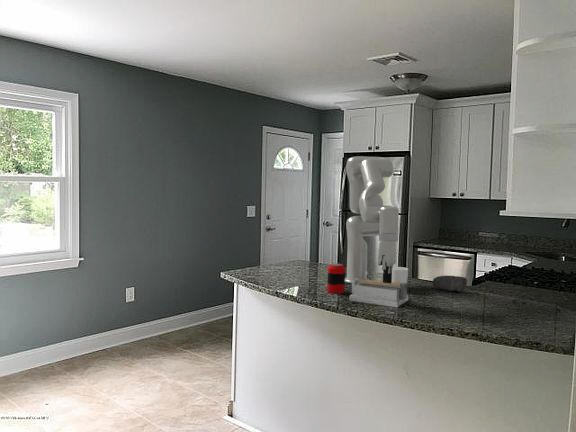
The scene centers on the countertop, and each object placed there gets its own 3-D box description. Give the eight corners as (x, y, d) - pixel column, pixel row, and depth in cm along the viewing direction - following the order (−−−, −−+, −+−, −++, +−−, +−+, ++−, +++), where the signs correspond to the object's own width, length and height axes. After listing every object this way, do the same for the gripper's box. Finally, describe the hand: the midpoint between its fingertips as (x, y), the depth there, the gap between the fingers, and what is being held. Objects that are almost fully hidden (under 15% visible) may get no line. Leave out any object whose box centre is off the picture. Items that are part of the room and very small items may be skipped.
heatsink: (359, 293, 213) (360, 275, 212) (410, 300, 202) (411, 281, 201) (346, 300, 201) (347, 280, 200) (399, 307, 190) (400, 287, 189)
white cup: (396, 292, 216) (396, 270, 215) (386, 289, 223) (386, 267, 222) (411, 291, 219) (412, 269, 218) (400, 288, 226) (401, 266, 225)
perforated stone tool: (430, 289, 225) (430, 274, 224) (434, 287, 229) (434, 272, 228) (463, 294, 216) (464, 278, 215) (467, 292, 220) (467, 276, 220)
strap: (359, 281, 207) (359, 278, 207) (402, 285, 198) (402, 282, 198) (355, 282, 204) (355, 280, 204) (399, 286, 195) (399, 284, 195)
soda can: (343, 294, 211) (344, 266, 210) (326, 293, 212) (326, 265, 211) (345, 290, 218) (346, 263, 217) (328, 289, 220) (328, 262, 219)
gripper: (385, 235, 206) (384, 279, 207) (372, 238, 193) (371, 284, 194) (403, 236, 202) (402, 281, 203) (391, 239, 189) (390, 286, 190)
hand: (387, 282), depth 198 cm, fingers closed
